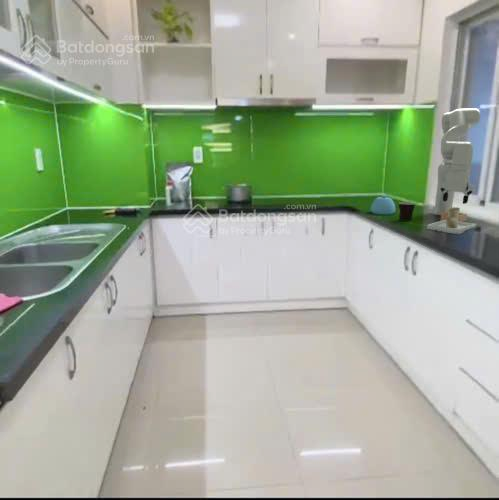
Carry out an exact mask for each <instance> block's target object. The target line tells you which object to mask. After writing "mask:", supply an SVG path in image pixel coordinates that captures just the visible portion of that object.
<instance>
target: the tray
mask: <svg viewBox="0 0 499 500" xmlns="http://www.w3.org/2000/svg"><path fill="white" fill-rule="evenodd" d="M446 225H447V220H443V221H435V222H432V223H429V224H427V230H429V229H430V230H429V231H435V230H437V231H436V232H441V231H442V232H441V233H449V234H452V235H460V234H464V233H467V232H468V230H470V229H473V228H476V227H477V223H473V222H472V223H471V222H466V221H465V222H459V221H458V224H457V228H449V227H446Z"/></svg>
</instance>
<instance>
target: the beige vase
mask: <svg viewBox="0 0 499 500" xmlns="http://www.w3.org/2000/svg"><path fill="white" fill-rule="evenodd" d="M460 208H461V207H456V206H452V207H449V210H448V217H447V225H446V227H449V228H457V224H458V217H459V213H460Z"/></svg>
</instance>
